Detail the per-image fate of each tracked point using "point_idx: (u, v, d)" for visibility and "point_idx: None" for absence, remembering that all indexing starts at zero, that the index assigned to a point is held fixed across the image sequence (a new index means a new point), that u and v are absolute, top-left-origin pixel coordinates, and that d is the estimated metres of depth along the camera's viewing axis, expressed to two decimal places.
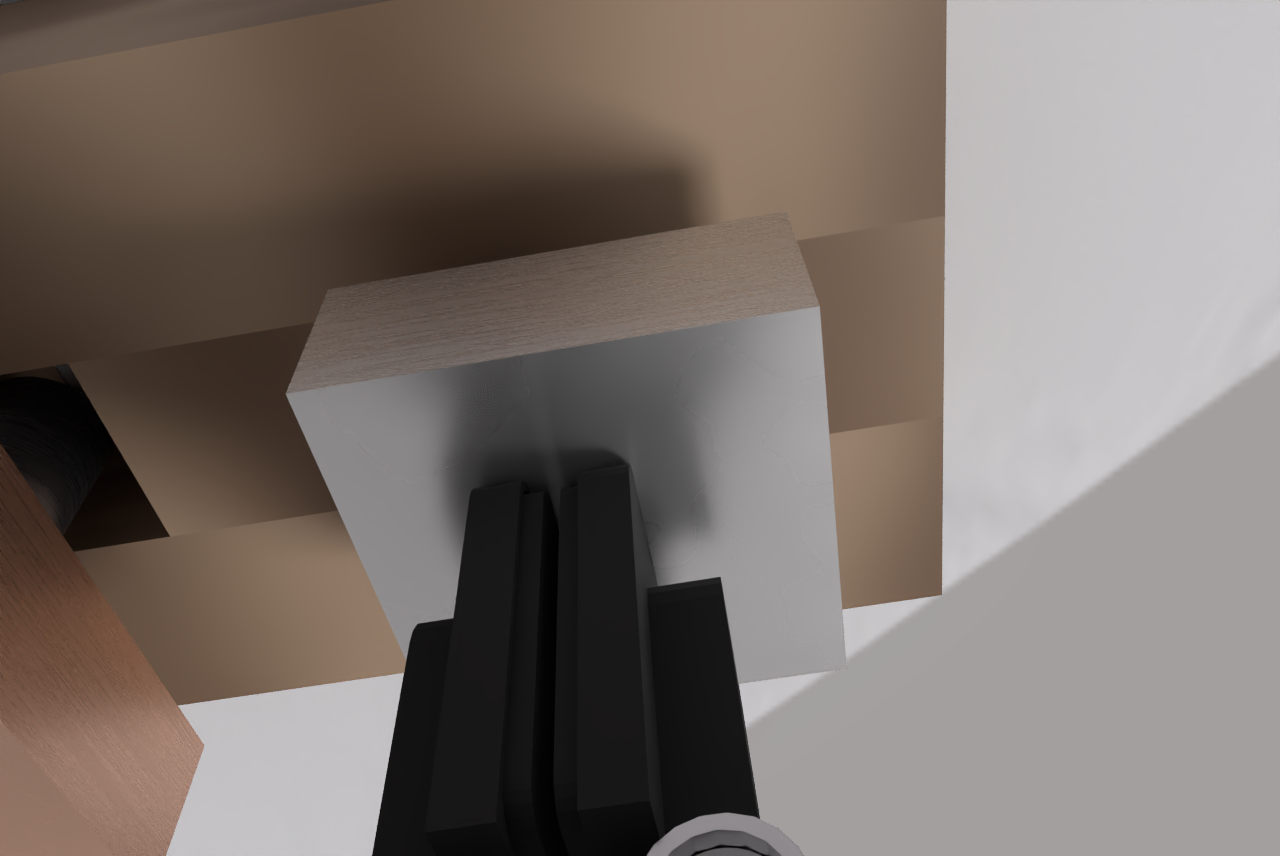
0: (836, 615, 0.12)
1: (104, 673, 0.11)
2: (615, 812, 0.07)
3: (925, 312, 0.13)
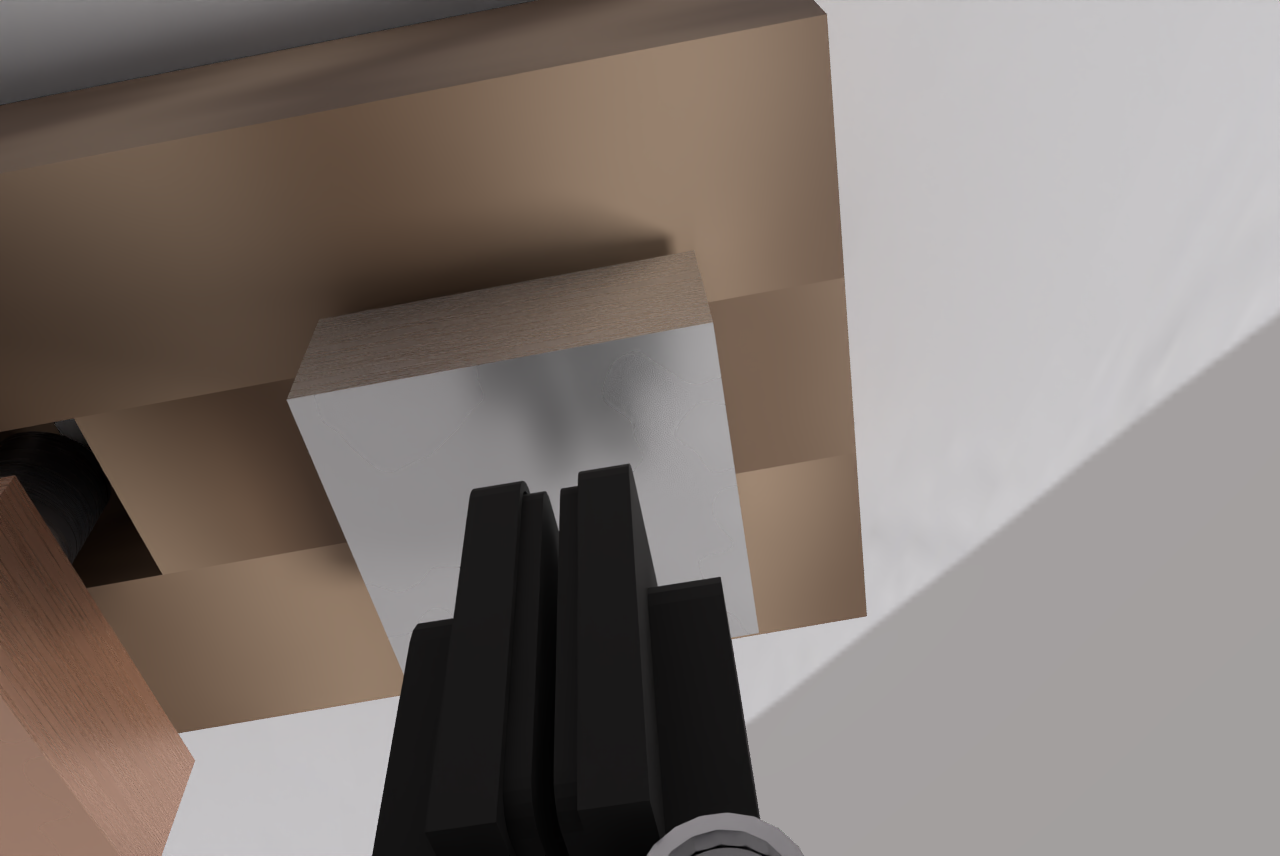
0: (746, 585, 0.14)
1: (108, 690, 0.13)
2: (615, 812, 0.07)
3: (833, 361, 0.15)
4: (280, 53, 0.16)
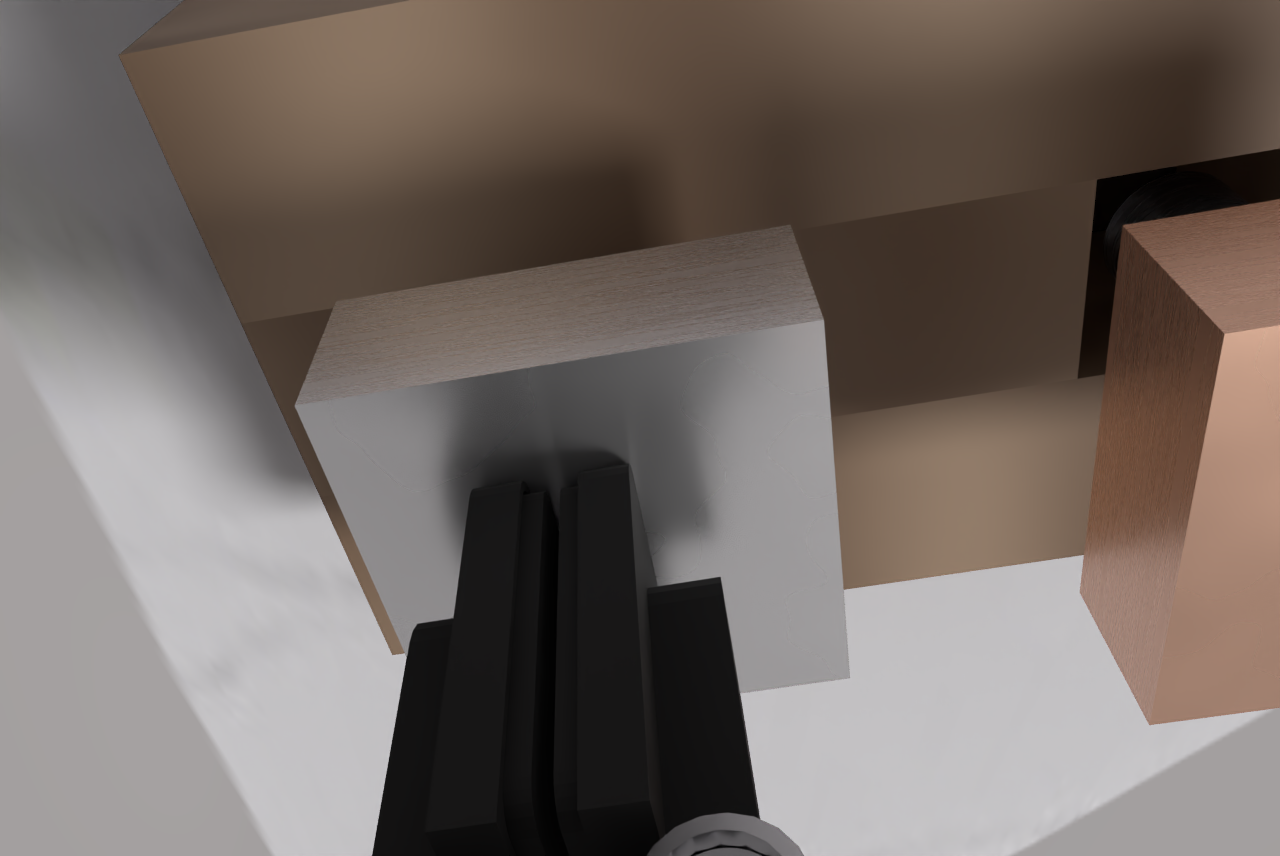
0: None
1: None
2: (615, 812, 0.07)
3: None
4: None
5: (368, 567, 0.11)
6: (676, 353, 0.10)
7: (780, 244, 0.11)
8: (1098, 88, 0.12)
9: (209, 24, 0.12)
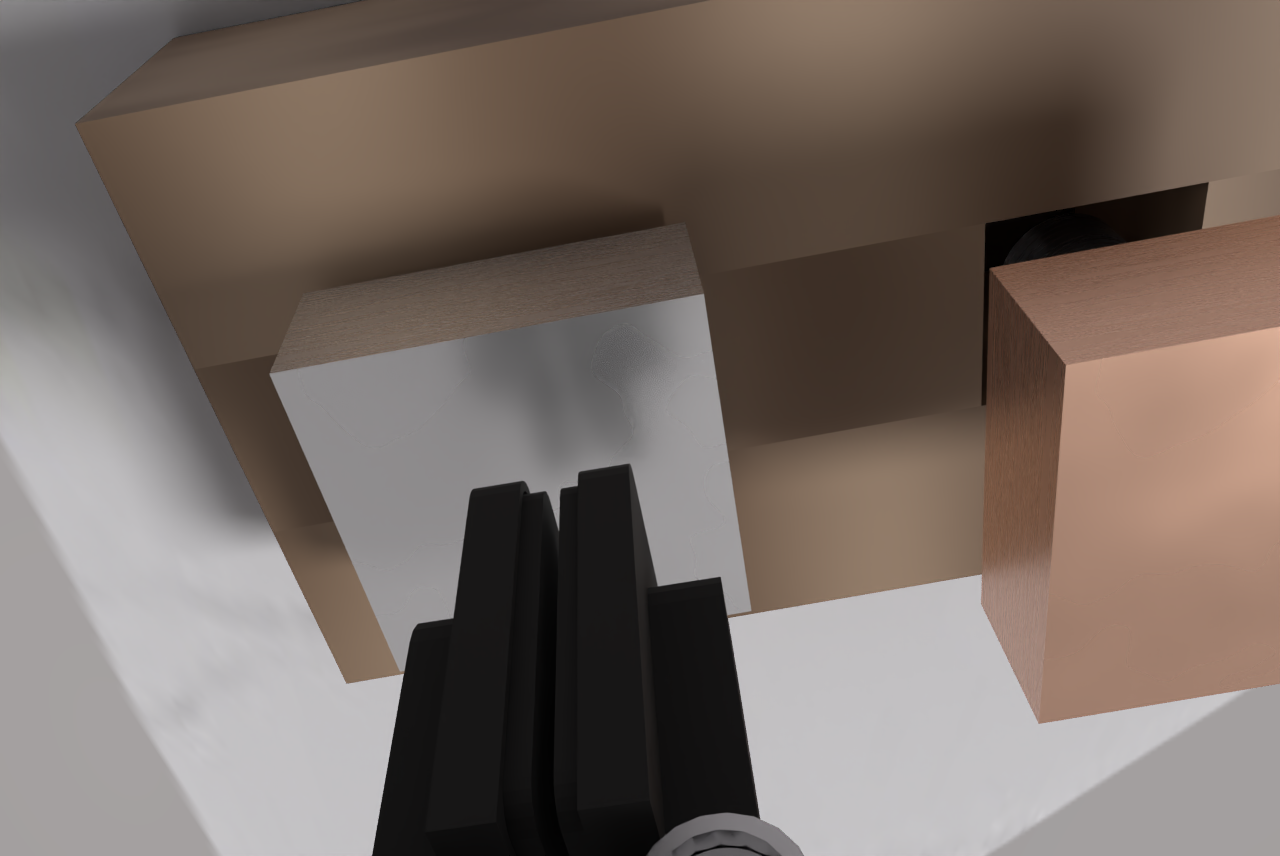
0: None
1: None
2: (614, 812, 0.07)
3: None
4: None
5: (333, 516, 0.13)
6: (584, 323, 0.12)
7: (675, 238, 0.13)
8: (981, 141, 0.13)
9: (160, 93, 0.13)
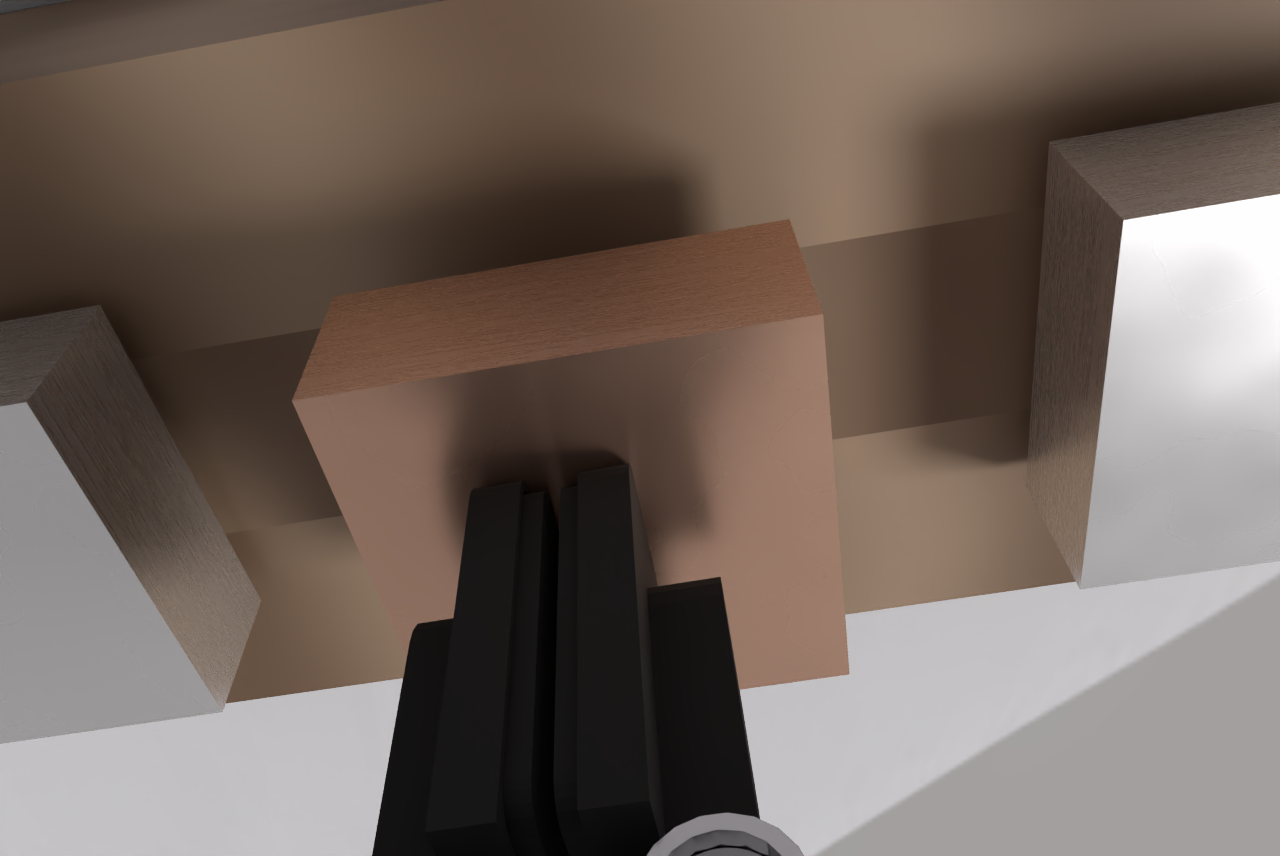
0: None
1: None
2: (614, 812, 0.07)
3: None
4: None
5: None
6: None
7: (72, 325, 0.12)
8: (426, 221, 0.12)
9: None
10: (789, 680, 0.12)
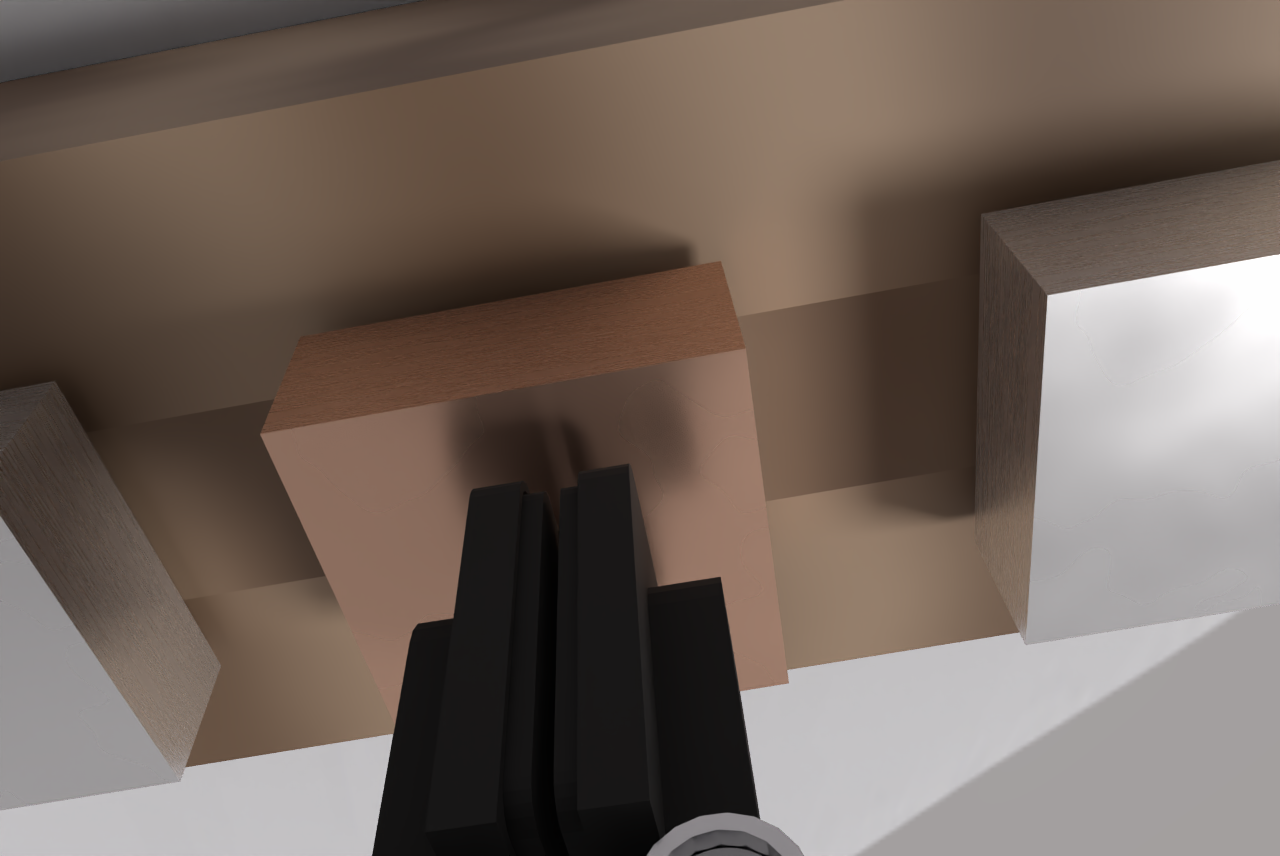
0: None
1: None
2: (615, 812, 0.07)
3: None
4: None
5: None
6: None
7: (26, 402, 0.12)
8: (377, 294, 0.13)
9: None
10: None
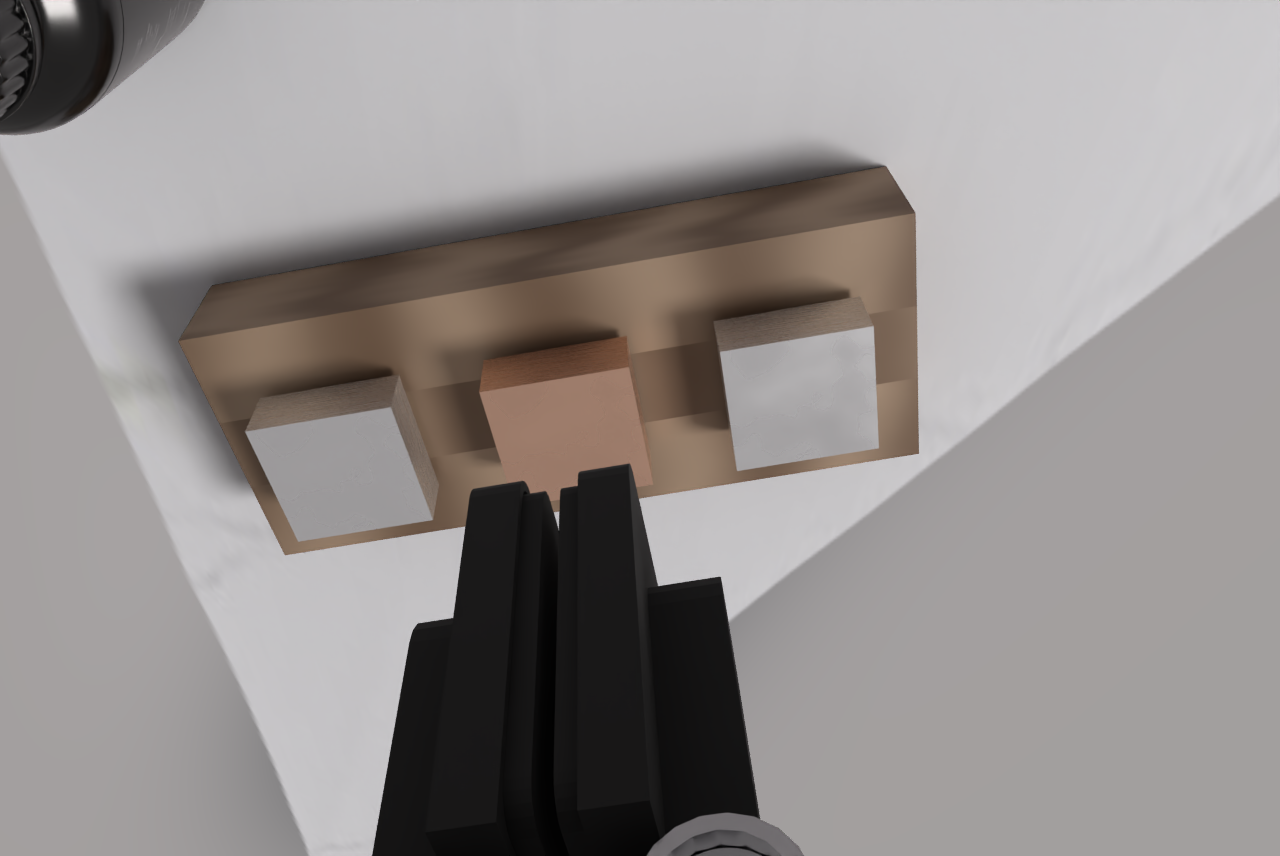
0: (875, 427, 0.36)
1: (641, 413, 0.37)
2: (615, 812, 0.07)
3: (910, 339, 0.37)
4: (677, 205, 0.38)
5: (269, 480, 0.36)
6: (351, 416, 0.35)
7: (392, 382, 0.36)
8: (509, 345, 0.36)
9: (207, 326, 0.36)
10: None
